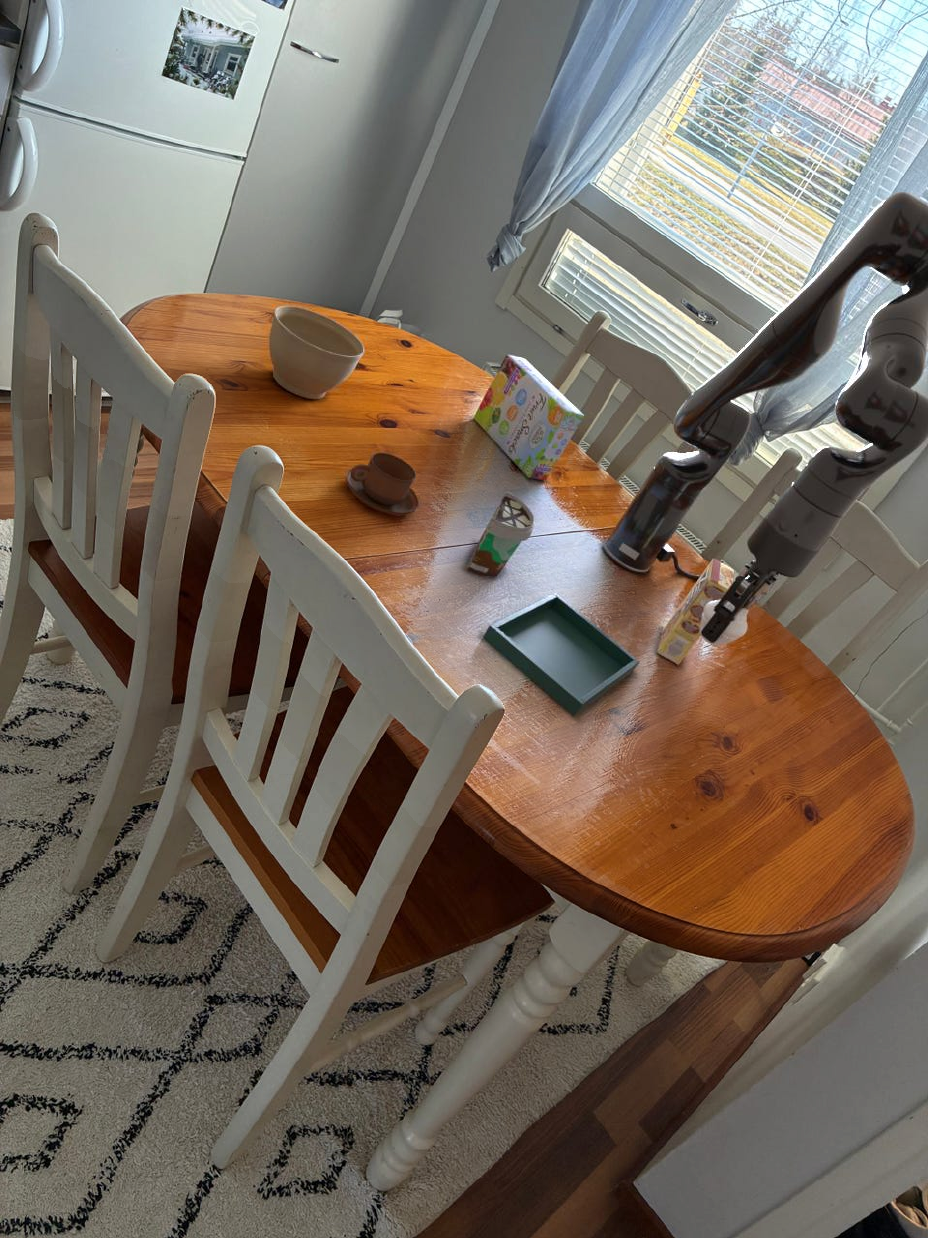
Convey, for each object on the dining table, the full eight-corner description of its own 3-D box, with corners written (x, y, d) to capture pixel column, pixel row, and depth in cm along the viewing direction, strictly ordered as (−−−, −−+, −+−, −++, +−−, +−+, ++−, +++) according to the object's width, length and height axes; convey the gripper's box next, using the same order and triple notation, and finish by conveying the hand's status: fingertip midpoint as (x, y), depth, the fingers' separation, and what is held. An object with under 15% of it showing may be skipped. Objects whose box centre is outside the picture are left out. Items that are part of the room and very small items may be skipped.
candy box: (678, 666, 148) (734, 593, 141) (655, 653, 149) (710, 579, 141) (682, 641, 156) (736, 570, 148) (660, 628, 156) (713, 556, 148)
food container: (501, 593, 141) (532, 541, 136) (464, 574, 141) (494, 521, 135) (512, 557, 152) (541, 508, 146) (478, 540, 151) (507, 489, 146)
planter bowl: (335, 422, 161) (359, 366, 155) (245, 382, 157) (266, 323, 151) (347, 388, 174) (369, 335, 168) (264, 350, 170) (284, 295, 165)
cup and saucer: (370, 524, 140) (386, 490, 136) (328, 476, 145) (342, 442, 142) (427, 521, 148) (444, 489, 145) (385, 476, 154) (400, 444, 151)
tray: (548, 603, 145) (555, 592, 144) (631, 672, 140) (640, 661, 139) (482, 637, 129) (489, 625, 128) (573, 716, 125) (582, 704, 123)
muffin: (705, 652, 119) (738, 611, 115) (681, 620, 123) (712, 579, 119) (738, 656, 122) (771, 617, 119) (714, 625, 126) (744, 585, 123)
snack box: (548, 481, 183) (586, 415, 175) (527, 479, 179) (566, 412, 171) (491, 420, 194) (525, 356, 186) (471, 417, 190) (504, 351, 183)
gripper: (805, 559, 107) (721, 665, 115) (834, 537, 118) (755, 635, 127) (751, 520, 109) (672, 627, 117) (785, 502, 120) (711, 601, 129)
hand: (716, 631), depth 122 cm, fingers closed on muffin, 6 cm apart
